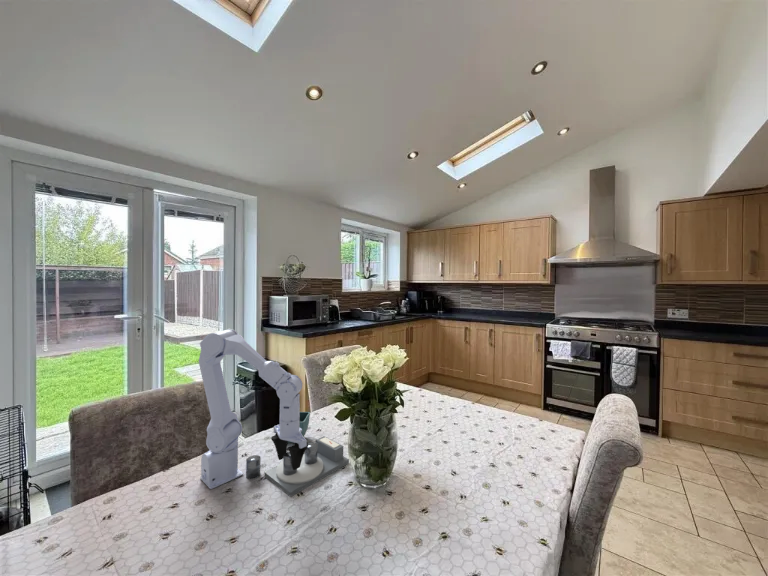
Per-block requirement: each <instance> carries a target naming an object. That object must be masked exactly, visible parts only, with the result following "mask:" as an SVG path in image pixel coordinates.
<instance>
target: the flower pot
mask: <svg viewBox="0 0 768 576" xmlns="http://www.w3.org/2000/svg"><path fill="white" fill-rule="evenodd" d="M310 418H311V412H309V411H300V418H299V428H301V429H302V432H301V434H302V435H303V437H304V438H305V435H306V433H307V430H308V427H309V424H310ZM288 443H292V444H294V442H290V441H288Z"/></svg>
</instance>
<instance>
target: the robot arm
mask: <svg viewBox="0 0 768 576" xmlns="http://www.w3.org/2000/svg"><path fill="white" fill-rule="evenodd" d="M199 345H200V354H199V356H198V357H199V358H198V365H199V369H200V374H201V378H202V384H203V388H204V391H205V392H204V393H205V397H206V401H207V406H208V411H209V414H210V420H209V423H208V425H207V427H206V433H207V436H206V440H205V444H206V446H207V447H206V448H208V450H207V451H206V452H204V453H202V455H201V463H200V464H201V465H200V467H201V468H200V469H201V470H200V474H201V475H200V478H199V479H200V480H201V481H202V482H203V483H204V485H206V486H207V487H208V488H209V489H210V490H213V489H215V488H217V487H219V486H222V485H224V484H226V483H228V482H231V481H233V480H235V479H237V478H239V477H241V476H244V473H243V471H242V470H241V469H239V467H238V465H239V464H238V463H239V461H238V460H239V459H238V458H239V437H240V436H241V435H242V434H243V433H242V432H243V425H242V423H241V421H240V420H239V419H238V415H237V414H236V412H234V411H232V410H231V406H230V402H229V397H228V393H227V387H226V384H225V383H226V382H225V378H224V374H223V370H222V364H221V361H222V360H223V359H224V358H225V357H226V355H232V356H235V355H236V356H238V357H240V358H241V359H242V360H244V362H246V363H248V364H249V365H250V366H252V367H254V368H255V369H256V370H258V376H259V378H261V379H262V380H263V381H265V382H266V383H267V384H268V385H269V386H270V387H271V388H273V389H274V390H275V391H276V395H277V397H278V398H279V424H277V425H274V426H273V433H274V435H272V436H271V437H270V439H271V441H272V443H273V446H274V448H275V451H276V455H277V459H278V460H279V461H280V460H283V456H284V454H285V453H287V452H290V454H291V459H292V468H293V470H296V469H298V468H299V467H300V465H301V461H302V458H303V455H304V453H305V450H306V449H307V447H308V443H309V442H307V441H308V440H307V439H306V438H305V436H304V437H303V435H302V434H301V432H302V429H301V428H299V418H300V412H301V410H300V407H301V406H300V403H301V402H300V396H301V395H300V392H301V390H302V389H303V382H302V379H301V378H300V376H298V375H296V374H292V373H290V372H288V371H286V370H285V369H284V368H283V367H281V366H280V363H279V362H278V361H274V360H267V359H265V358H264V357H263V356H262V355H261V354H260V353H259V352H258V351H257V350H256V349H254V347H252V346H251V345H250V344H249V343H248V342H247V341H246V340H245V338H244V336H242V334H240V333H238V332H237V331H236V330H235V329H232V328H227V329H223V330H221V331H220V330H219V331H217V332H211V333H208V334H207V335H206V336H204V338H203V339H202V340H201V342H199ZM288 441H290V442H294V443H293V445H290V446H288ZM287 449H288V450H287Z"/></svg>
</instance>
